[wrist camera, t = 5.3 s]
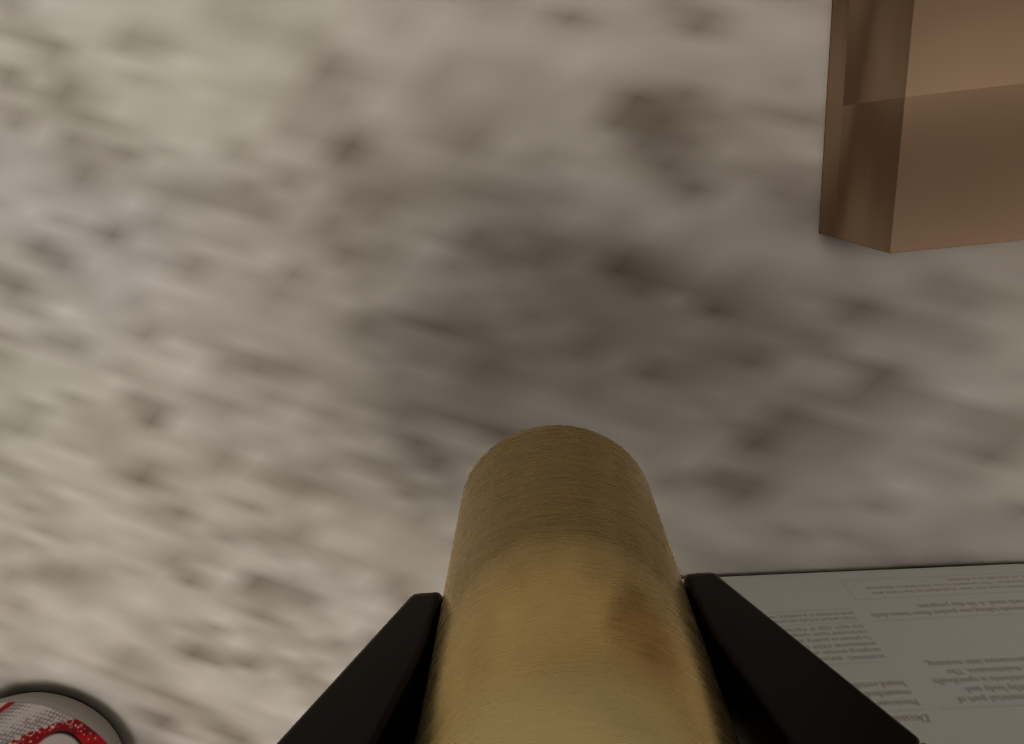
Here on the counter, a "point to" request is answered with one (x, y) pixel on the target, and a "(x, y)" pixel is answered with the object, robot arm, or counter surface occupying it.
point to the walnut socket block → (924, 124)
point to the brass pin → (566, 608)
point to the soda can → (52, 721)
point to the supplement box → (914, 641)
